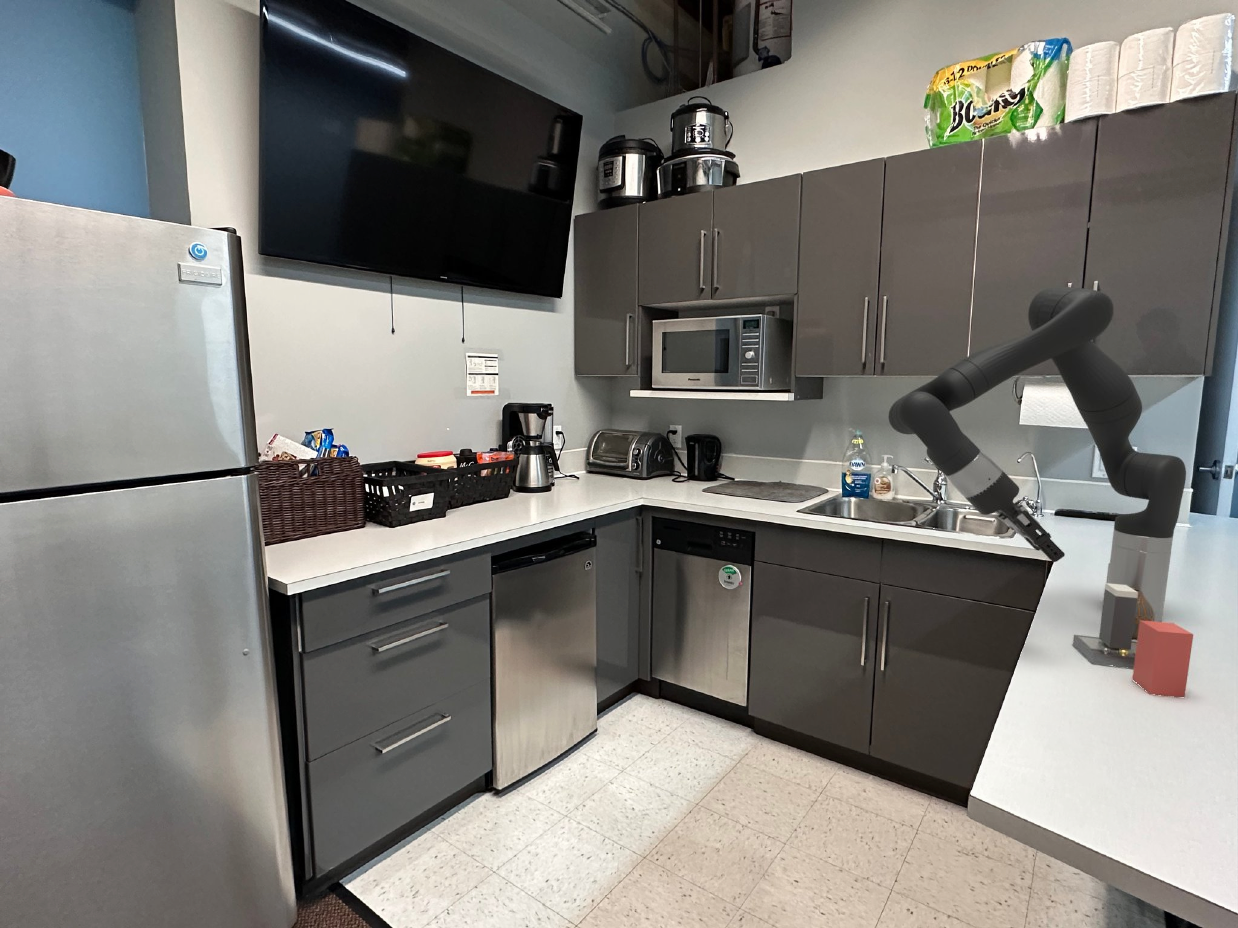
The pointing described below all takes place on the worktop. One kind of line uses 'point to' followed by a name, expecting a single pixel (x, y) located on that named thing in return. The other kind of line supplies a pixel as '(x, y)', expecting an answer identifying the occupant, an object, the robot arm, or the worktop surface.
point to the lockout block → (1162, 658)
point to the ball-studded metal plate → (1104, 652)
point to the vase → (1142, 612)
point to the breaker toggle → (1118, 616)
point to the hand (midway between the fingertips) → (1050, 552)
